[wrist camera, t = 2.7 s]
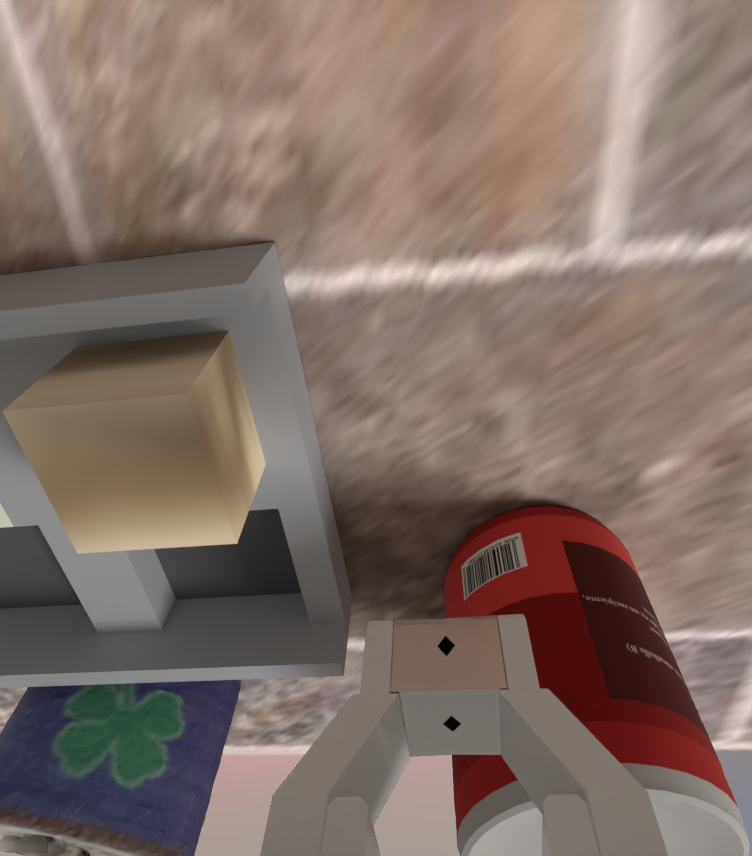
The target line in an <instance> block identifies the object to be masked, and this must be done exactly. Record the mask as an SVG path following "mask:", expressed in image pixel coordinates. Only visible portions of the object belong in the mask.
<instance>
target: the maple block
mask: <svg viewBox="0 0 752 856" xmlns="http://www.w3.org/2000/svg"><path fill="white" fill-rule="evenodd" d="M2 412H3V414H4V416H5V417H6V419H7V421H8V423H9V425H10V427H11V429H12V431H13V433H14V434H15V436H16V438H17V440H18V442H19V444H20V446H21V448H22V450H23V451H24V453H25V455H26V457H27V459H28V461H29V463H30V465H31V467H32V469H33V470H34V472H35V474H36V476H37V478H38V480H39V482H40V484H41V486H42V487H43V489H44V491H45V493H46V495H47V497H48V499H49V501H50V503H51V504H52V506H53V508H54V510H55V512H56V514H57V516H58V518H59V520H60V521H61V523H62V525H63V527H64V529H65V531H66V533H67V535H68V537H69V539H70V540H71V542H72V544H73V546H74V548H75V550H76V552H77V554H79V553H95V552H111V551H127V550H143V549H159V548H176V547H192V546H208V545H224V544H237V543H238V540H239V537H240V534H241V532H242V529H243V526H244V523H245V520H246V518H247V515H248V512H249V509H250V507H251V504H252V501H253V498H254V496H255V493H256V490H257V487H258V485H259V482H260V479H261V476H262V473H263V471H264V468H265V465H266V463H265V459H264V456H263V452H262V448H261V445H260V441H259V438H258V434H257V431H256V427H255V423H254V420H253V416H252V413H251V409H250V405H249V402H248V398H247V395H246V391H245V387H244V384H243V380H242V377H241V373H240V369H239V366H238V362H237V359H236V355H235V351H234V348H233V344H232V341H231V337H230V333H229V331H224V332H214V333H205V334H195V335H186V336H176V337H167V338H157V339H148V340H138V341H129V342H119V343H110V344H100V345H90V346H81V347H76V348H74V349H73V350H72V351H71V352H70V353H69V354H67V355H66V356H65V357H64V358H63V359H62V360H61V361H59V362H58V363H57V364H56V365H55V366H54V367H53V368H51V369H50V370H49V371H48V372H47V373H46V374H45V375H43V376H42V377H41V378H40V379H39V380H38V381H36V382H35V383H34V384H33V385H32V386H31V387H30V388H28V389H27V390H26V391H25V392H24V393H23V394H22V395H20V396H19V397H18V398H17V399H16V400H15V401H13V402H12V403H11V404H10V405H9V406H8V407H7V408H5V409H4V410H3V411H2Z"/></svg>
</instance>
